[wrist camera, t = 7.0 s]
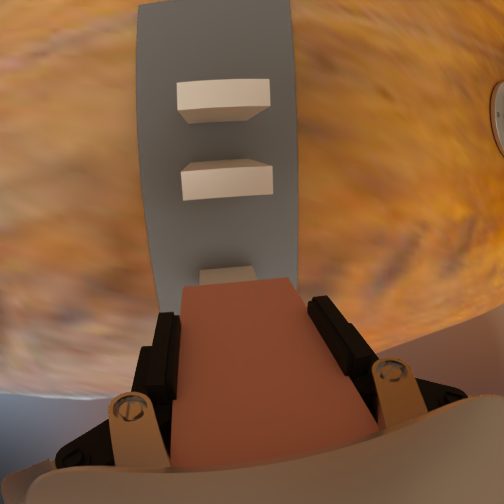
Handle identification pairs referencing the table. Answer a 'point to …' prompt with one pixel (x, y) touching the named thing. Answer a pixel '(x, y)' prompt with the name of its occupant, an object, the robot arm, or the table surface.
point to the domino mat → (216, 140)
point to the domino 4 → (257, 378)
